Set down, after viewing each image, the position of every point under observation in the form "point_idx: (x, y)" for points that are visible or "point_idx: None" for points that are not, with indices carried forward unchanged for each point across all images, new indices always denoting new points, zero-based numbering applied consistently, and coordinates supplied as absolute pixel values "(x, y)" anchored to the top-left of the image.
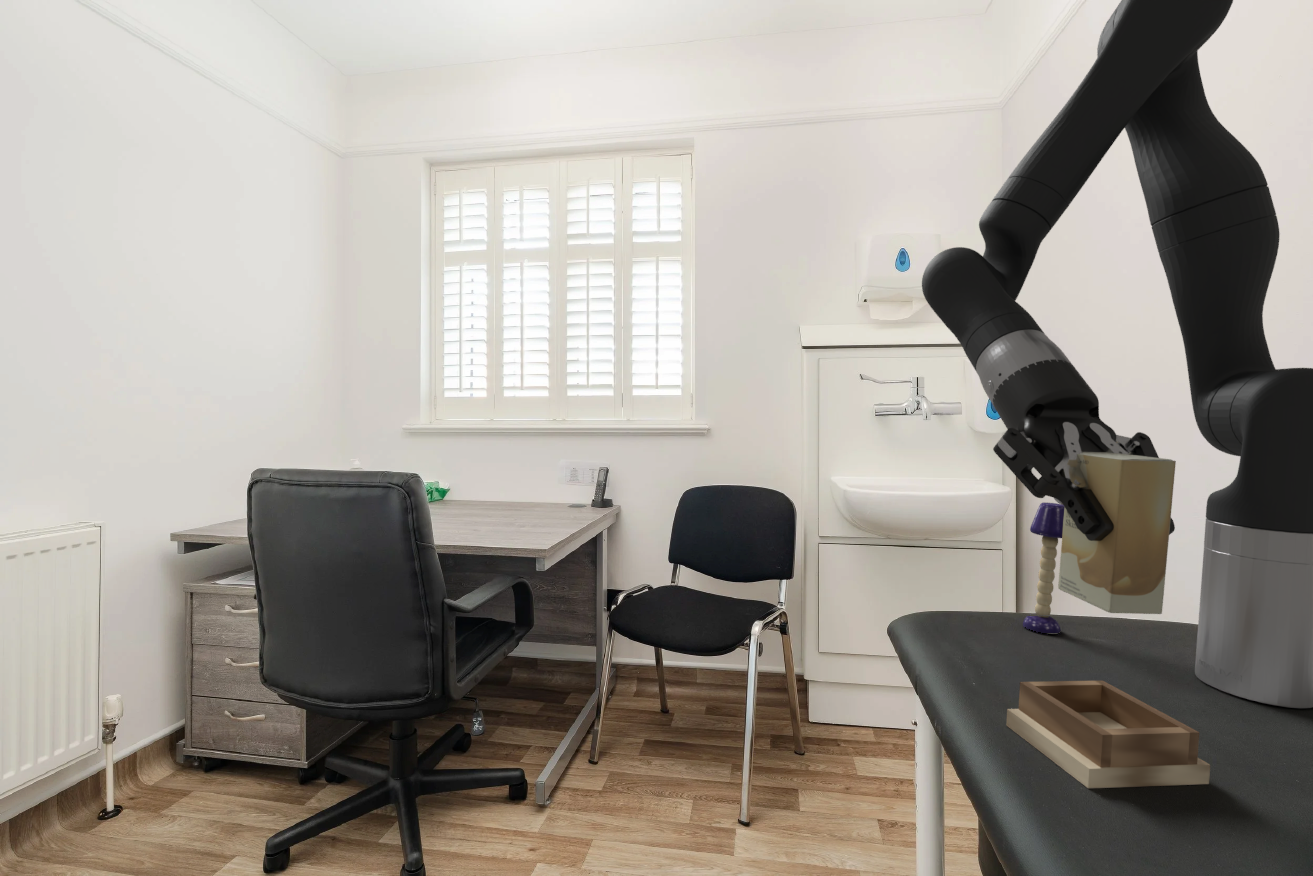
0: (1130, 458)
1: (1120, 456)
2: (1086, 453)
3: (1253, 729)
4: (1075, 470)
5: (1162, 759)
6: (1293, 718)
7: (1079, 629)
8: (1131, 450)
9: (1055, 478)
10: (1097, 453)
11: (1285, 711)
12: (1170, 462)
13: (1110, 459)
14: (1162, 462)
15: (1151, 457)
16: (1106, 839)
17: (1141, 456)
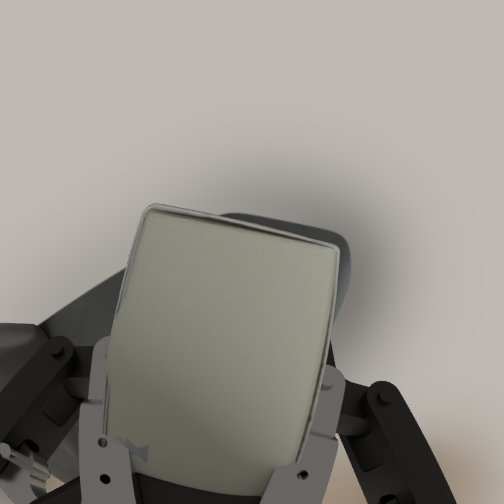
0: (296, 254)
1: (265, 323)
2: (272, 455)
3: (87, 319)
4: (314, 418)
5: None
6: (51, 320)
7: (68, 465)
8: (23, 455)
9: (382, 387)
10: (241, 439)
11: (46, 328)
12: (169, 208)
13: (335, 299)
14: (196, 214)
15: (165, 271)
16: None
17: (166, 310)
